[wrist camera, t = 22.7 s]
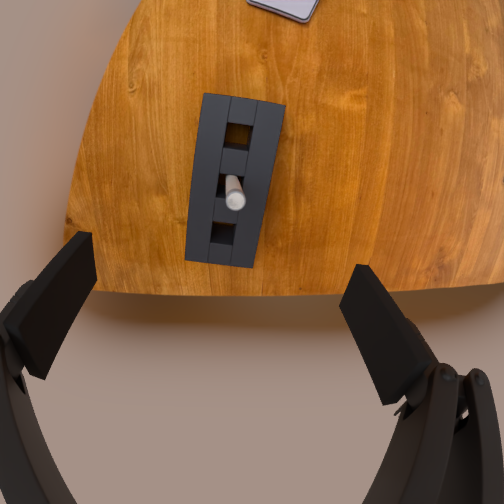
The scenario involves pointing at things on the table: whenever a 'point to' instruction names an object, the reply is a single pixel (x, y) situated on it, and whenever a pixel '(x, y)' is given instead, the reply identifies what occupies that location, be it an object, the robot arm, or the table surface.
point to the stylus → (234, 193)
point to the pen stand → (233, 163)
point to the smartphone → (288, 8)
